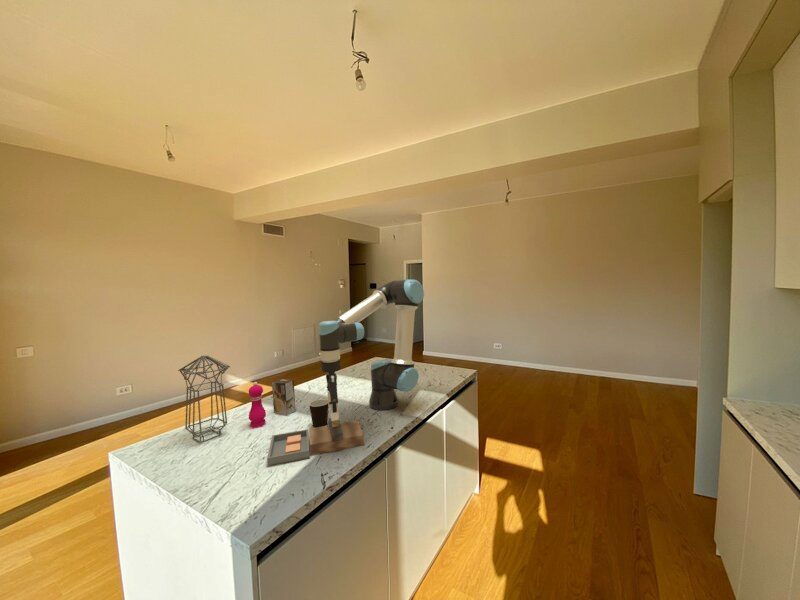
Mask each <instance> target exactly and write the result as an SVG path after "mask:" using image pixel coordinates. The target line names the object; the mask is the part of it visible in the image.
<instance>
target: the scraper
mask: <svg viewBox="0 0 800 600" xmlns="http://www.w3.org/2000/svg"><path fill="white" fill-rule="evenodd" d="M340 423H341V421H340V419H339V420H335V421H331V417H328V425H329V427H330V432H331V437H332V442H334V441H340V440H343V432H342V428H341V425H340Z"/></svg>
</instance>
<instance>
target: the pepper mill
mask: <svg viewBox="0 0 800 600" xmlns="http://www.w3.org/2000/svg"><path fill="white" fill-rule="evenodd" d="M263 393H264V388H263V386H262V385H260V384H259V383H258V382H257V381H254V382H253V384H252V385H251V386H250V387H249V389H248V395H249V396H250V398H249V400H250V401H251V406H250V410H249V412H248V420H249V421H250V422H249V423H250V424H249V425H250V428H252V429H253V428H254V429H255V428H261V427H263V426H264V425H265V424H266V419H265V418H266V416H267V413H266V410H265V407H264V405H263V404H262V403H263V402H262V399H263V395H262V394H263Z"/></svg>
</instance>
